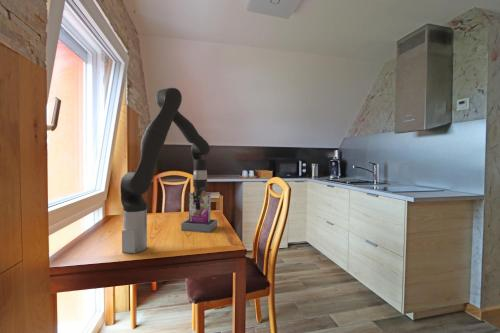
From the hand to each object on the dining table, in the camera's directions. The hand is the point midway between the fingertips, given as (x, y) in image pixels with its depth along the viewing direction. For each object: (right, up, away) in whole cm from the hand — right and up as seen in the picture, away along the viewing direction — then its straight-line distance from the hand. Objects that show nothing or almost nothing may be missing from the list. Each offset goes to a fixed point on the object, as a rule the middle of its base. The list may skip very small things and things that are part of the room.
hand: (199, 208), depth 138 cm
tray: (0, -11, +1) cm, 11 cm away
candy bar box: (0, -8, 0) cm, 8 cm away
